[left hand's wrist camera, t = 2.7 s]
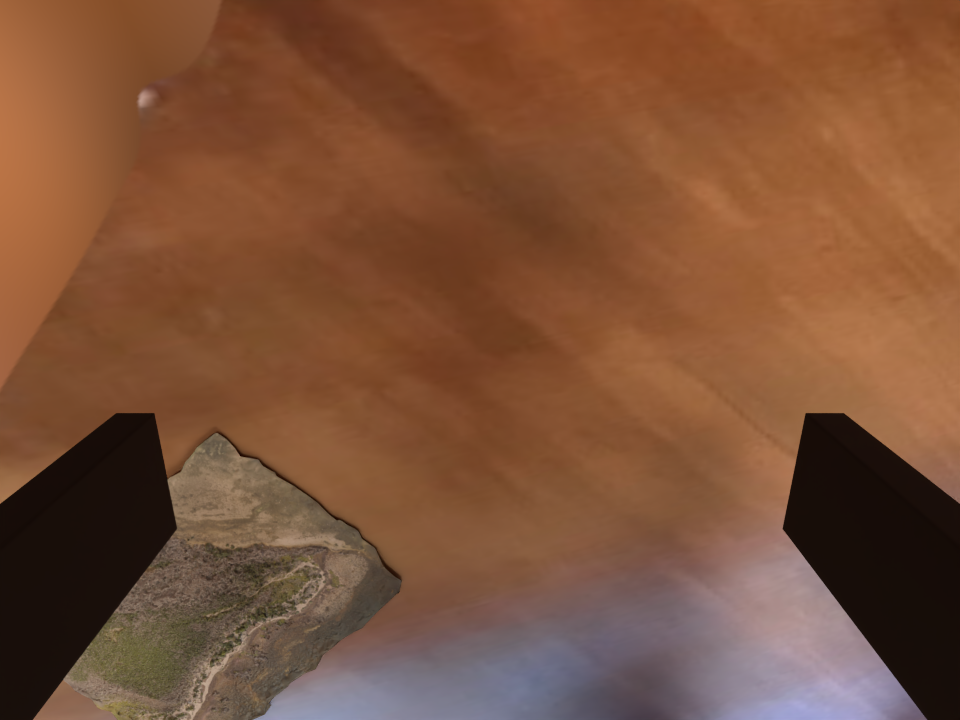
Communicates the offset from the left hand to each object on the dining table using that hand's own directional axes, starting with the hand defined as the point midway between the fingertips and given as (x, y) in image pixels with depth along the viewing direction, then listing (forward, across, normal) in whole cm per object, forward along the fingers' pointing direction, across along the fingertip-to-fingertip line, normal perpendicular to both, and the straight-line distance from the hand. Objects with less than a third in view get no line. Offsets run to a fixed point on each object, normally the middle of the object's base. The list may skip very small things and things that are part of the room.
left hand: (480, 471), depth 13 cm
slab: (+28, +21, +29) cm, 46 cm away
